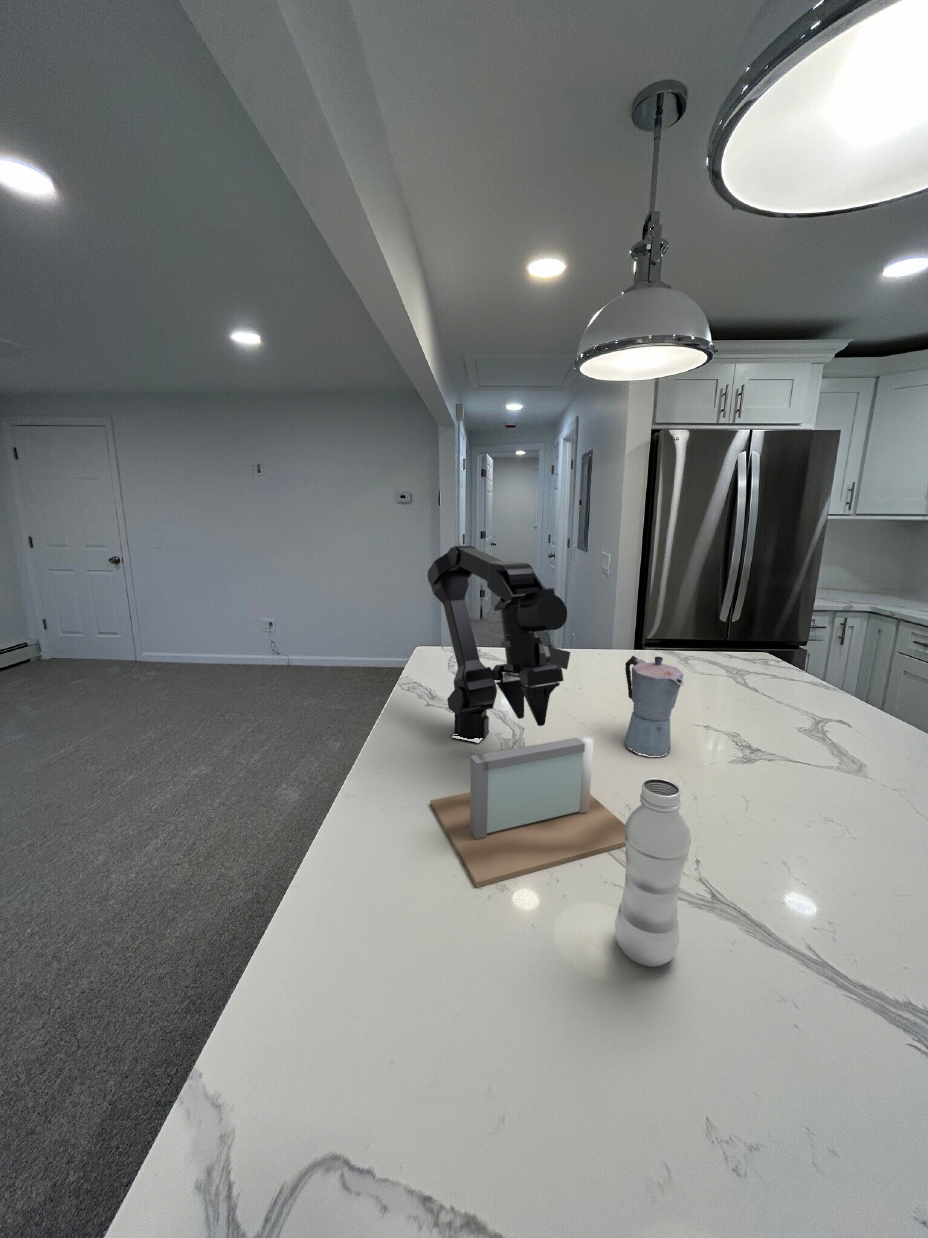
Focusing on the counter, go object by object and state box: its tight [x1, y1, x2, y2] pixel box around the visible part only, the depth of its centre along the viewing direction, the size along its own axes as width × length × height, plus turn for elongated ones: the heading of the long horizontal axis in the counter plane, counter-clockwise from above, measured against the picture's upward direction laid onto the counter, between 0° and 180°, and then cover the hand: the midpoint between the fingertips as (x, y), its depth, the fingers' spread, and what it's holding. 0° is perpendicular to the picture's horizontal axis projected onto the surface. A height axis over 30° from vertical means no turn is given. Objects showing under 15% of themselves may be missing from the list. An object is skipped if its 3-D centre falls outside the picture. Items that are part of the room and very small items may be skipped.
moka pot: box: [624, 655, 685, 756], centre depth 102 cm, size 10×15×20 cm, turn 27°
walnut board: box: [429, 791, 625, 888], centre depth 78 cm, size 20×26×1 cm
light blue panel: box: [469, 735, 595, 839], centre depth 76 cm, size 20×2×12 cm, turn 111°
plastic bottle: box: [614, 777, 692, 968], centre depth 54 cm, size 6×7×20 cm
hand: (530, 721), depth 88 cm, fingers open, 9 cm apart
